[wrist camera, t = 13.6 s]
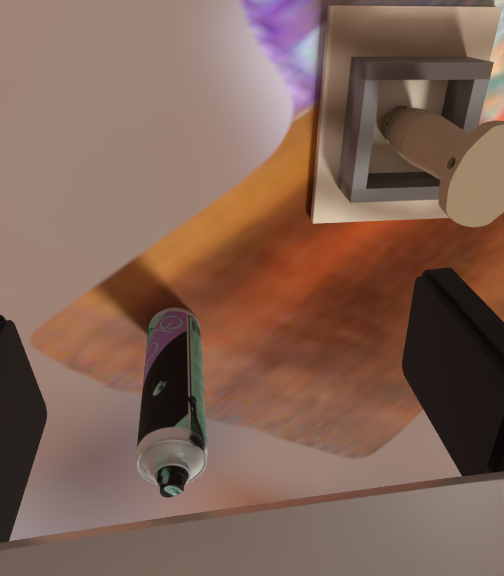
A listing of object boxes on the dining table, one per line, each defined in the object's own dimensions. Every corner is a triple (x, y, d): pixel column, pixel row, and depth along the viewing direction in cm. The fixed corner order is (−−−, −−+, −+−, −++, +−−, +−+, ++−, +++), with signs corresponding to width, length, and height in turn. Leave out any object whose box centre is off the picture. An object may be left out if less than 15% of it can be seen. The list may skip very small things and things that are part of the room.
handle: (439, 95, 41) (553, 139, 28) (404, 166, 44) (493, 234, 31) (390, 76, 40) (486, 113, 27) (358, 151, 43) (431, 215, 30)
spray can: (161, 299, 50) (151, 458, 33) (209, 318, 51) (223, 477, 35) (140, 338, 52) (120, 506, 35) (186, 354, 54) (189, 521, 37)
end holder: (327, 5, 38) (346, 6, 33) (495, 6, 39) (533, 8, 35) (310, 219, 47) (323, 241, 43) (446, 213, 48) (471, 234, 44)
